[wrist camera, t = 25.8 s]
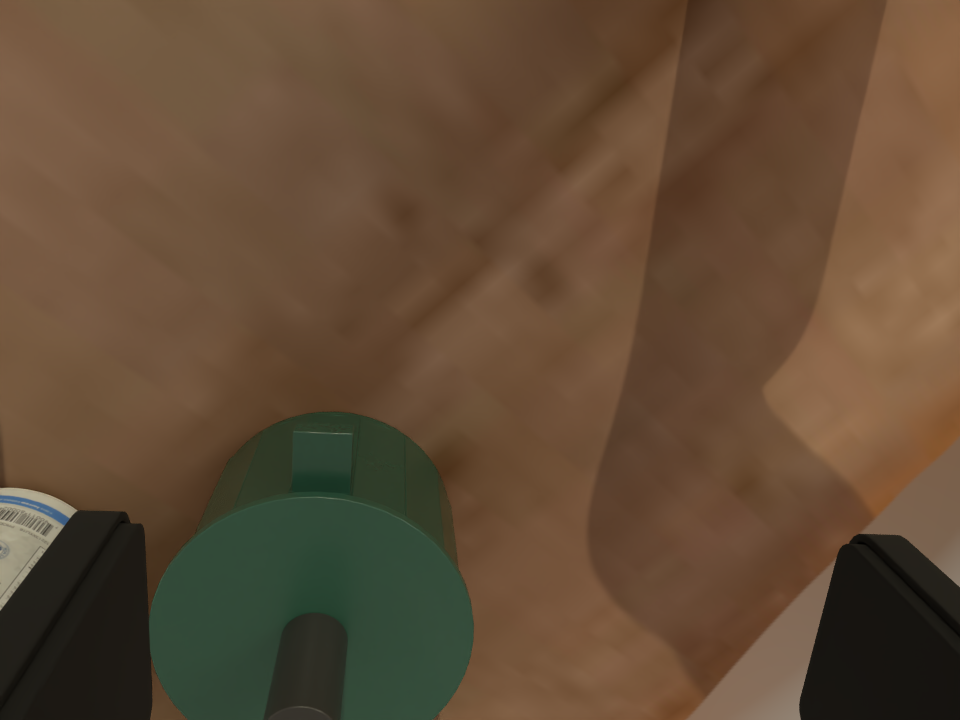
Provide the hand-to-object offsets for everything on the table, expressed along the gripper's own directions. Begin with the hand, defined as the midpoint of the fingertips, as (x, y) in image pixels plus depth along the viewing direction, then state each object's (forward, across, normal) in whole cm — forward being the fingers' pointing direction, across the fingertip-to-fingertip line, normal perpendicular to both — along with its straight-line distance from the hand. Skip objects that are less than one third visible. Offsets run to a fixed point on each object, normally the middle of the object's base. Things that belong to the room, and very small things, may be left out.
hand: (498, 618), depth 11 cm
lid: (+21, +4, +16) cm, 27 cm away
